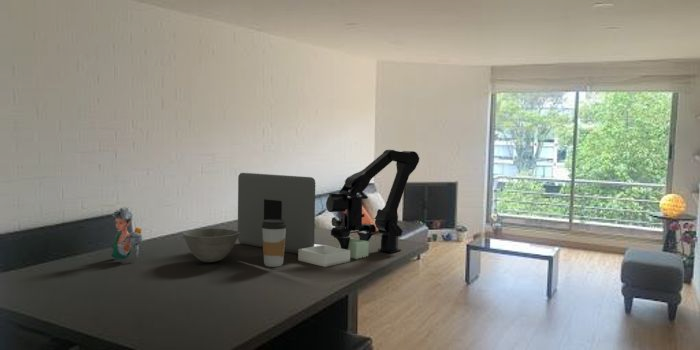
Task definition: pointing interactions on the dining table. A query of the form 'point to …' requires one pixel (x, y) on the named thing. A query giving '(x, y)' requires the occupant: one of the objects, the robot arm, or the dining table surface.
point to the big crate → (324, 255)
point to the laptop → (276, 208)
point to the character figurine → (125, 235)
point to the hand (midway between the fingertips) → (353, 253)
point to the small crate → (357, 248)
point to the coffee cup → (273, 241)
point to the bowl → (210, 243)
